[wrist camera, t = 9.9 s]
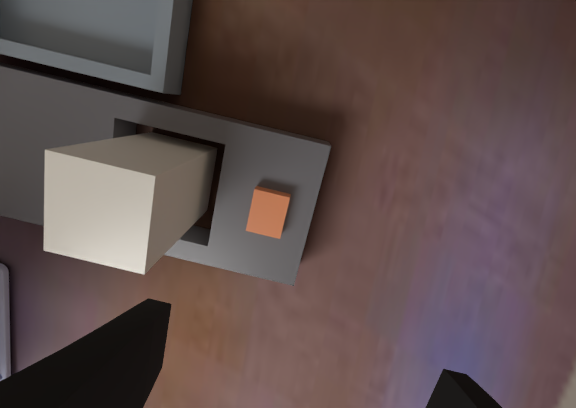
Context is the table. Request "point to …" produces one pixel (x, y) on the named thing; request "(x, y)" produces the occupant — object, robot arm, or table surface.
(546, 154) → the table surface
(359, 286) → the table surface
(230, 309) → the table surface
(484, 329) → the table surface
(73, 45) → the tray
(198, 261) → the power strip
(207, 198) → the plug
